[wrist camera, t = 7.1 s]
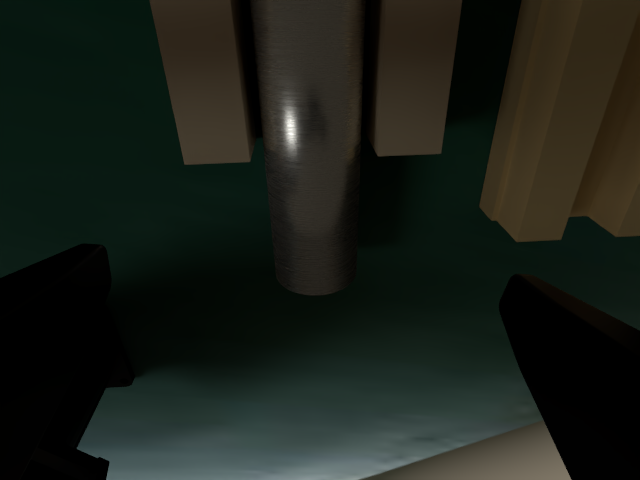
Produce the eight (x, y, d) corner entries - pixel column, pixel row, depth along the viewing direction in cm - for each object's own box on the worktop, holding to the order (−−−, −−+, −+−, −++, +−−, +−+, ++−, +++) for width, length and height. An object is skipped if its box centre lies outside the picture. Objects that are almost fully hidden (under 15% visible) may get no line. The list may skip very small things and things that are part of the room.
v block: (611, 200, 21) (664, 234, 18) (479, 206, 20) (511, 242, 17) (760, -176, 13) (894, -228, 10) (557, -174, 13) (635, -225, 10)
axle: (351, 246, 21) (361, 293, 18) (278, 249, 21) (273, 297, 18) (360, -84, 14) (378, -110, 11) (248, -82, 14) (231, -108, 11)
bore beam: (420, 131, 18) (440, 153, 16) (200, 140, 18) (184, 164, 15) (444, -94, 14) (478, -114, 11) (158, -88, 14) (126, -108, 11)
